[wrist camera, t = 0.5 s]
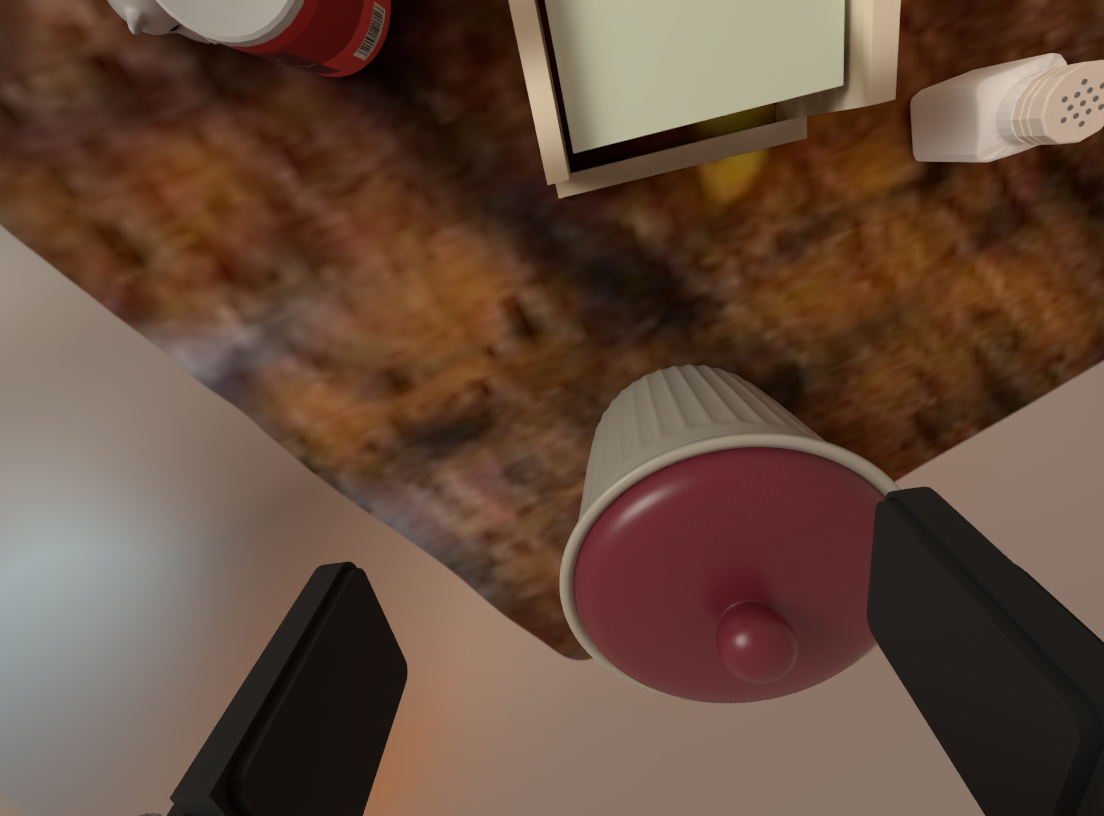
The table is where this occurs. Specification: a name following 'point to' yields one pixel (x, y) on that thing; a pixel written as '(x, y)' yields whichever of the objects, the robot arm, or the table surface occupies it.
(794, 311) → the table surface
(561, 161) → the stand
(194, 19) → the canned food
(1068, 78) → the pepper shaker
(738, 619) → the canister
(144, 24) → the chubby cartoon animal
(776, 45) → the trapdoor
